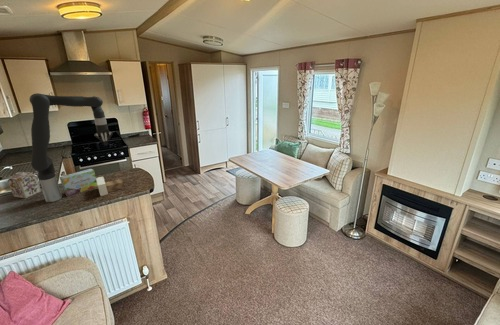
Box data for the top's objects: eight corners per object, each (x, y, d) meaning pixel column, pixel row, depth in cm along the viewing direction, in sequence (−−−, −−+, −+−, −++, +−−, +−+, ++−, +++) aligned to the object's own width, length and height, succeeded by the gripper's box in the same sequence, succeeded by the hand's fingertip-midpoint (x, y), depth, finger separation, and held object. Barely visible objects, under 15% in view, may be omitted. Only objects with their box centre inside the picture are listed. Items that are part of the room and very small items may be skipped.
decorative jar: (25, 198, 173) (17, 176, 167) (13, 197, 175) (4, 175, 169) (42, 191, 184) (34, 170, 178) (30, 189, 186) (22, 168, 180)
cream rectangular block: (100, 196, 177) (97, 185, 173) (98, 188, 189) (96, 178, 185) (108, 194, 179) (105, 183, 176) (105, 186, 191) (103, 176, 188)
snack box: (67, 197, 176) (61, 178, 170) (64, 194, 179) (59, 176, 173) (98, 186, 191) (93, 169, 186) (95, 184, 195) (90, 167, 189)
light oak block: (107, 192, 182) (106, 186, 180) (106, 188, 188) (104, 182, 186) (124, 188, 189) (123, 182, 187) (123, 184, 195) (121, 178, 193)
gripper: (91, 125, 173) (96, 148, 179) (111, 123, 180) (116, 145, 186) (90, 123, 178) (96, 145, 185) (110, 121, 186) (114, 142, 192)
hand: (106, 145), depth 185 cm, fingers closed
